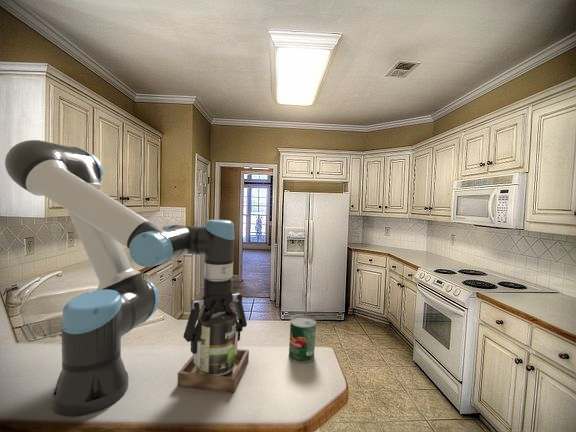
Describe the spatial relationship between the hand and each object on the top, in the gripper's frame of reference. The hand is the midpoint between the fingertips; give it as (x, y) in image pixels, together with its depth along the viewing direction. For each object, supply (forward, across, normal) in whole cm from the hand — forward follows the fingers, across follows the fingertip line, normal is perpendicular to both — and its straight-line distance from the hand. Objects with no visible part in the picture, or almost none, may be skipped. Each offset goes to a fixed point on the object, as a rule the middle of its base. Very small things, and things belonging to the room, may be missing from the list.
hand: (215, 358), depth 82 cm
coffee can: (+2, 0, 0) cm, 2 cm away
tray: (+4, 0, 0) cm, 4 cm away
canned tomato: (+4, +26, -6) cm, 27 cm away
